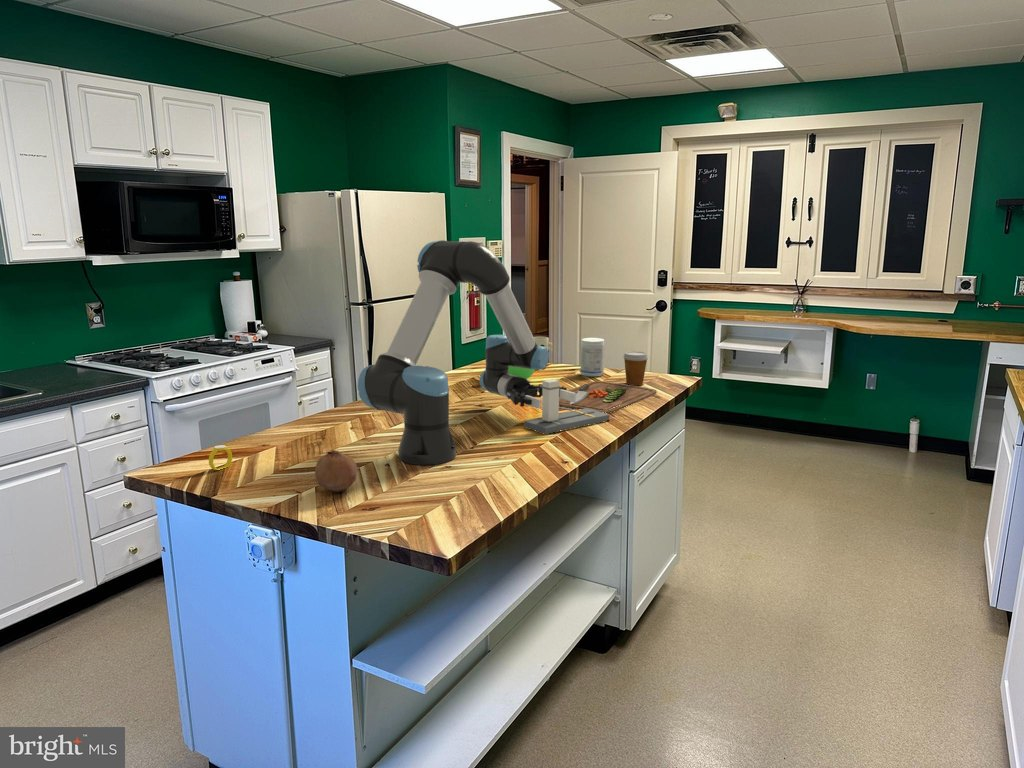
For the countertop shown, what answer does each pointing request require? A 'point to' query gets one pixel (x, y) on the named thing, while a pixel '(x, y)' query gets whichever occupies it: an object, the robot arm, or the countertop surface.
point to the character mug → (543, 342)
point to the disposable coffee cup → (635, 367)
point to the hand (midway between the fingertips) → (557, 400)
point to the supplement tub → (592, 357)
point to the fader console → (567, 421)
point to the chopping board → (606, 396)
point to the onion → (336, 471)
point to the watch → (216, 449)
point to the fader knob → (550, 400)
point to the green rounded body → (520, 372)
